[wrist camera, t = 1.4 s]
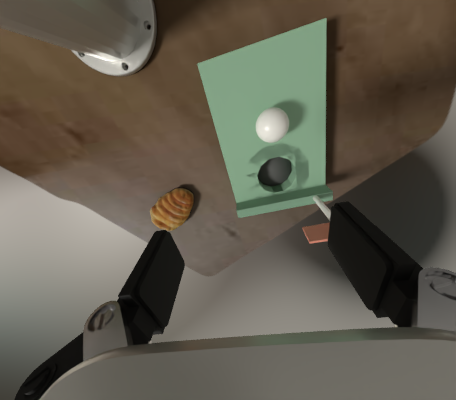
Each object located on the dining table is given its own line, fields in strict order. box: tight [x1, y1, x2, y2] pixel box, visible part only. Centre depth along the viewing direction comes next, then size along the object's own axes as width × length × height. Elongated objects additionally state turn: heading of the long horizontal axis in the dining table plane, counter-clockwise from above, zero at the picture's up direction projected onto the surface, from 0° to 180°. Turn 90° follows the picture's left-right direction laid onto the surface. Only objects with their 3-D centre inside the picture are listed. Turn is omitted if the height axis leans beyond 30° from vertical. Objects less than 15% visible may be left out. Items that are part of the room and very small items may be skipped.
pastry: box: [150, 188, 194, 231], centre depth 33 cm, size 9×7×4 cm
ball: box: [256, 107, 289, 143], centre depth 23 cm, size 4×4×4 cm
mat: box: [197, 18, 333, 218], centre depth 25 cm, size 22×15×5 cm
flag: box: [303, 196, 331, 243], centre depth 26 cm, size 1×4×14 cm, turn 105°
